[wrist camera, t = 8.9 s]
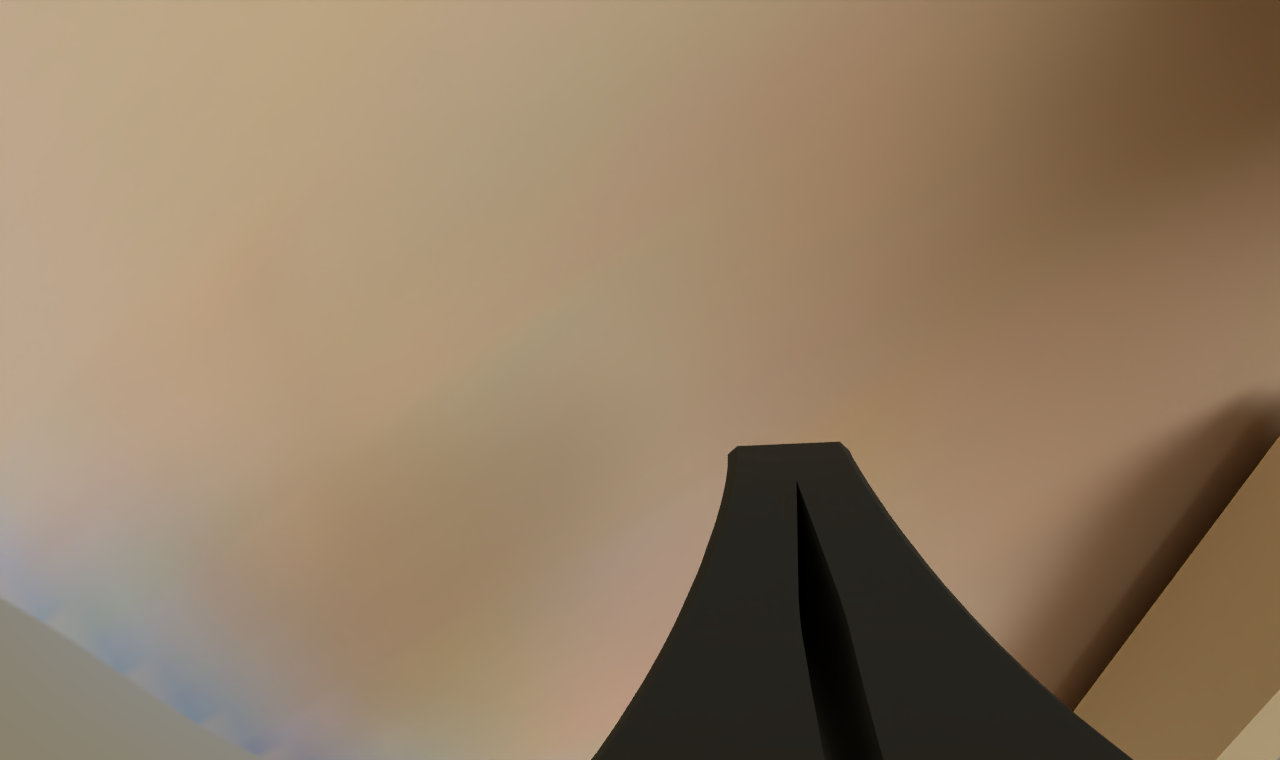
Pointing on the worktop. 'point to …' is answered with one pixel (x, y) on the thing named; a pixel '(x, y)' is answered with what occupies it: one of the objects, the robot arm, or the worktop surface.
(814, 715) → the robot arm
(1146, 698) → the beige grey flat-sided piece
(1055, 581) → the worktop surface
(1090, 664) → the worktop surface
